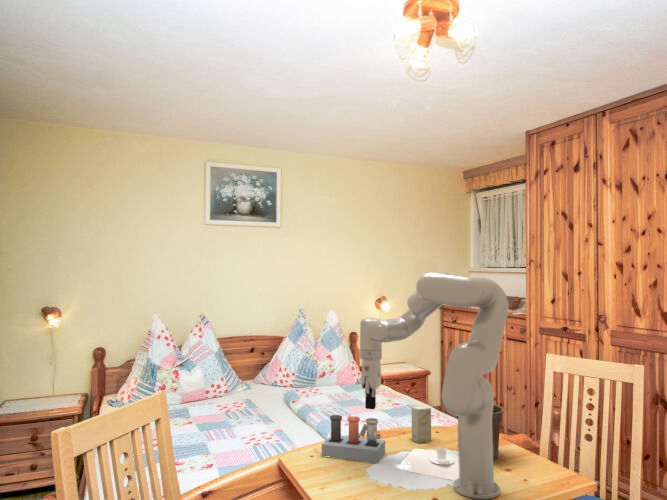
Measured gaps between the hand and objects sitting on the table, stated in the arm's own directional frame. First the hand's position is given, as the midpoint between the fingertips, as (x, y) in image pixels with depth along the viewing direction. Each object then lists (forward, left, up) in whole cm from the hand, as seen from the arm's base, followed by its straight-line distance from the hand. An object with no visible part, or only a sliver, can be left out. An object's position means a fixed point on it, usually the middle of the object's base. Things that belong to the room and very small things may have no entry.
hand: (370, 408), depth 158 cm
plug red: (0, +6, -12) cm, 13 cm away
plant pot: (+13, -35, -16) cm, 41 cm away
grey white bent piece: (+7, +7, -16) cm, 19 cm away
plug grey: (0, 0, -12) cm, 12 cm away
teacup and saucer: (0, -21, -16) cm, 27 cm away
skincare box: (+22, -14, -16) cm, 30 cm away
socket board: (0, +6, -16) cm, 17 cm away
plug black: (0, +13, -12) cm, 17 cm away
